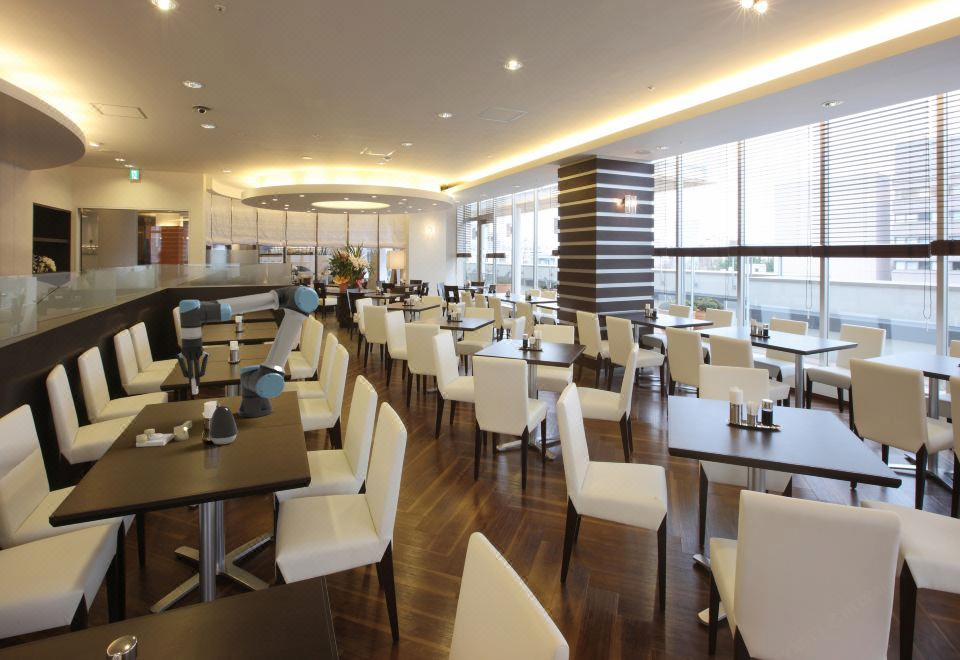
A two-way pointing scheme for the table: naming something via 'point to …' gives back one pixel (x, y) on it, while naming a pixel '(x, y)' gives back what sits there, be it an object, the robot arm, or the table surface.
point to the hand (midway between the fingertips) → (195, 393)
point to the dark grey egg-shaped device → (222, 426)
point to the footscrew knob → (182, 431)
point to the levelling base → (152, 438)
